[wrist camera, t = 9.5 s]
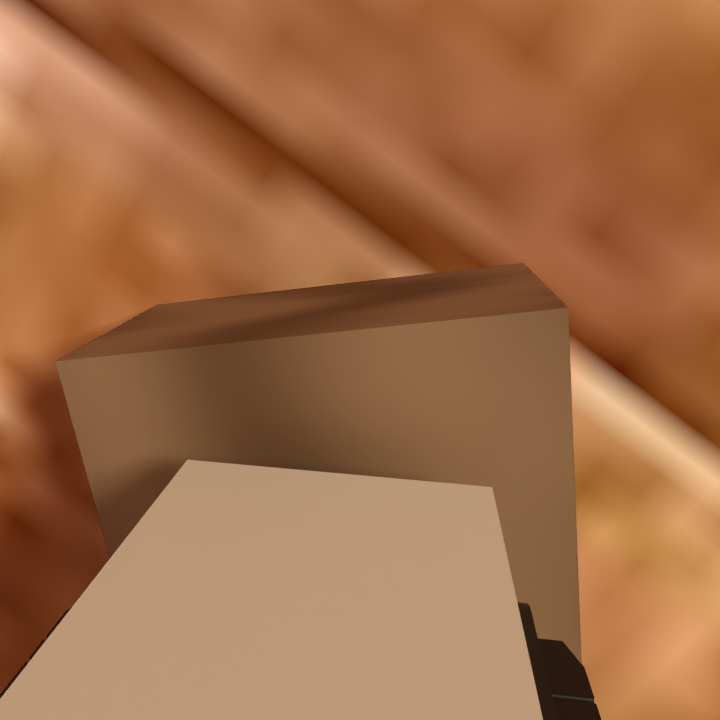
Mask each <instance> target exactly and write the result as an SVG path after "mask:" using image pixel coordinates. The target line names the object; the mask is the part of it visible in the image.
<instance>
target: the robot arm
mask: <svg viewBox="0 0 720 720" xmlns="http://www.w3.org/2000/svg"><path fill="white" fill-rule="evenodd" d="M517 603H518V607H519V612H520V617H521V621H522V626H523V630H524V635H525V639H526V644H527V649H528V653H529V658H530V662H531V667H532V672H533V676H534V681H535V685H536V690H537V694H538V699H539V704H540V708H541V713H542V717H543V720H601V718H600V715H599V711H598V708H597V705H596V704H595V703H594V696H593V693H592V690H591V687H590V683H589V680H588V677H587V674H586V671H585V668H584V667H583V665H582V664H581V663H580V662H579V660H578V659H577V658H576V657H575V655H574V654H573V653H572V652H571V651H570V649H569V648H568V647H567V646H566V644H565V643H564V642H563V641H558V640H549V639H540V638H538V637H537V633H536V628H535V624H534V620H533V616H532V612H531V608H530V606H529V604H528V603H521V602H517ZM72 607H73V606H72ZM72 607H71V608H72ZM71 608H70V609H71ZM70 609H68V610H67V611H66V612H65V613H64V614H63V616H62V617H61V618H60V620H59V621H58V622H57V623H56V625H55V626H54V627H53V628H52V630H51V631H50V632H49V633H48V635H47V638H48V637H49V636H50V635H51V633H52V632H53V631H54V630H55V628H56V627H57V626H58V624H59V623H60V622H61V621H62V619H63V618H64V617H65V615H66V614H67V613H68V612H69V610H70ZM46 640H47V639H46ZM44 642H45V641H44V640H43V641H42V642H41V644H40V645H39V646H38V647H37V649H36V650H35V651H34V652H33V654H32V655H31V656H30V660H31V659H32V658H33V656H34V655H35V654H36V653H37V651H38V650H39V649H40V647H41V646H42V645H43V644H44ZM28 663H29V662H26V663H25V664H24V665H23V666H22V668H21V669H20V670H19V671H18V673H17V674H16V675H15V677H14V678H13V679H12V680H11V682H10V683H9V684H8V685H7V687H6V688H5V689H4V690H3V692H2V693H1V694H0V699H1V697H2V696H3V695H4V693H5V692H6V691H7V690H8V688H9V687H10V686H11V684H12V683H13V682H14V681H15V679H16V678H17V677H18V676H19V674H20V673H21V672H22V670H23V669H24V668H25V667H26V665H27V664H28Z"/></svg>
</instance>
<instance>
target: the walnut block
mask: <svg viewBox="0 0 720 720" xmlns="http://www.w3.org/2000/svg"><path fill="white" fill-rule="evenodd" d="M55 363H56V367H57V370H58V374H59V377H60V381H61V385H62V388H63V392H64V395H65V399H66V403H67V406H68V410H69V413H70V417H71V420H72V424H73V428H74V431H75V435H76V438H77V442H78V445H79V449H80V453H81V456H82V460H83V463H84V467H85V471H86V474H87V478H88V481H89V485H90V488H91V492H92V496H93V499H94V503H95V506H96V510H97V514H98V517H99V521H100V524H101V528H102V531H103V535H104V539H105V542H106V546H107V549H108V553H109V556H110V558H111V557H112V555H113V554H114V553H115V552H116V550H117V549H118V548H119V546H120V545H121V544H122V543H123V541H124V540H125V539H126V537H127V536H128V535H129V534H130V532H131V531H132V530H133V529H134V527H135V526H136V525H137V523H138V522H139V521H140V520H141V518H142V517H143V516H144V514H145V513H146V512H147V511H148V509H149V508H150V507H151V506H152V504H153V503H154V502H155V500H156V499H157V498H158V497H159V495H160V494H161V493H162V491H163V490H164V489H165V488H166V486H167V485H168V484H169V483H170V481H171V480H172V479H173V477H174V476H175V475H176V474H177V472H178V471H179V470H180V468H181V467H182V466H183V465H184V463H185V462H186V461H187V460H197V461H208V462H219V463H230V464H241V465H252V466H264V467H275V468H286V469H297V470H308V471H319V472H330V473H341V474H353V475H364V476H375V477H386V478H397V479H408V480H419V481H430V482H442V483H453V484H464V485H475V486H486V487H492V488H493V493H494V497H495V502H496V507H497V511H498V516H499V520H500V525H501V529H502V534H503V539H504V543H505V548H506V552H507V557H508V562H509V566H510V571H511V575H512V580H513V584H514V589H515V594H516V598H517V602H521V603H528V604H529V606H530V608H531V612H532V616H533V620H534V624H535V628H536V633H537V637H538V638H540V639H549V640H558V641H563V642H564V643H565V644H566V646H567V647H568V648H569V649H570V651H571V652H572V653H573V654H574V655H575V657H576V658H577V659H578V660H579V662H580V663H581V664H582V662H581V635H580V609H579V582H578V556H577V529H576V503H575V477H574V450H573V424H572V397H571V371H570V344H569V318H568V307H567V306H566V305H565V304H564V303H563V302H562V301H561V300H560V299H559V298H558V297H557V296H556V295H555V294H554V293H553V292H552V291H551V290H550V289H549V288H548V287H547V286H546V285H545V284H544V283H543V282H542V281H541V280H540V279H539V278H538V277H537V276H536V275H535V274H534V273H533V272H532V271H531V270H530V269H529V268H528V267H527V266H526V265H525V264H524V263H520V264H511V265H502V266H494V267H485V268H476V269H467V270H458V271H450V272H441V273H432V274H423V275H415V276H406V277H397V278H388V279H380V280H371V281H362V282H353V283H344V284H336V285H327V286H318V287H309V288H301V289H292V290H283V291H274V292H266V293H257V294H248V295H239V296H230V297H222V298H213V299H204V300H195V301H187V302H178V303H169V304H160V305H157V306H155V307H153V308H151V309H149V310H148V311H146V312H144V313H142V314H140V315H139V316H137V317H135V318H133V319H131V320H129V321H128V322H126V323H124V324H122V325H120V326H119V327H117V328H115V329H113V330H111V331H109V332H108V333H106V334H104V335H102V336H100V337H99V338H97V339H95V340H93V341H91V342H89V343H88V344H86V345H84V346H82V347H80V348H79V349H77V350H75V351H73V352H71V353H69V354H68V355H66V356H64V357H62V358H60V359H59V360H57V361H55Z"/></svg>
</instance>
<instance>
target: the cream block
mask: <svg viewBox="0 0 720 720" xmlns="http://www.w3.org/2000/svg"><path fill="white" fill-rule="evenodd" d="M0 720H543V717H542V713H541V708H540V704H539V699H538V694H537V690H536V685H535V681H534V676H533V672H532V667H531V662H530V658H529V653H528V649H527V644H526V639H525V635H524V630H523V626H522V621H521V617H520V612H519V607H518V603H517V598H516V594H515V589H514V584H513V580H512V575H511V571H510V566H509V562H508V557H507V552H506V548H505V543H504V539H503V534H502V529H501V525H500V520H499V516H498V511H497V507H496V502H495V497H494V493H493V488H492V487H486V486H475V485H464V484H453V483H442V482H430V481H419V480H408V479H397V478H386V477H375V476H364V475H353V474H341V473H330V472H319V471H308V470H297V469H286V468H275V467H264V466H252V465H241V464H230V463H219V462H208V461H197V460H187V461H186V462H185V463H184V465H183V466H182V467H181V468H180V470H179V471H178V472H177V474H176V475H175V476H174V477H173V479H172V480H171V481H170V483H169V484H168V485H167V486H166V488H165V489H164V490H163V491H162V493H161V494H160V495H159V497H158V498H157V499H156V500H155V502H154V503H153V504H152V506H151V507H150V508H149V509H148V511H147V512H146V513H145V514H144V516H143V517H142V518H141V520H140V521H139V522H138V523H137V525H136V526H135V527H134V529H133V530H132V531H131V532H130V534H129V535H128V536H127V537H126V539H125V540H124V541H123V543H122V544H121V545H120V546H119V548H118V549H117V550H116V552H115V553H114V554H113V555H112V557H111V558H110V559H109V560H108V562H107V563H106V564H105V566H104V567H103V568H102V569H101V571H100V572H99V573H98V575H97V576H96V577H95V578H94V580H93V581H92V582H91V583H90V585H89V586H88V587H87V589H86V590H85V591H84V592H83V594H82V595H81V596H80V598H79V599H78V600H77V601H76V603H75V604H74V605H73V607H72V608H71V609H70V610H69V612H68V613H67V614H66V615H65V617H64V618H63V619H62V621H61V622H60V623H59V624H58V626H57V627H56V628H55V630H54V631H53V632H52V633H51V635H50V636H49V637H48V638H47V640H46V641H45V642H44V644H43V645H42V646H41V647H40V649H39V650H38V651H37V653H36V654H35V655H34V656H33V658H32V659H31V660H30V661H29V663H28V664H27V665H26V667H25V668H24V669H23V670H22V672H21V673H20V674H19V676H18V677H17V678H16V679H15V681H14V682H13V683H12V684H11V686H10V687H9V688H8V690H7V691H6V692H5V693H4V695H3V696H2V697H1V699H0Z"/></svg>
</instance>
